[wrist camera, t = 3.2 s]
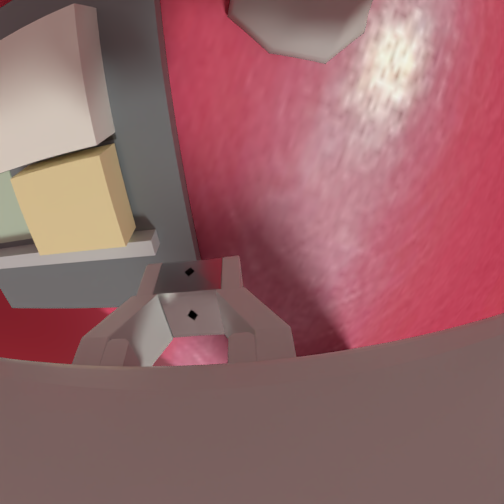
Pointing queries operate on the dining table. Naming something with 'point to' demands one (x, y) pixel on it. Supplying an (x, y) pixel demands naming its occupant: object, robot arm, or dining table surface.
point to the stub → (75, 202)
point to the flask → (302, 25)
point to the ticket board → (133, 156)
